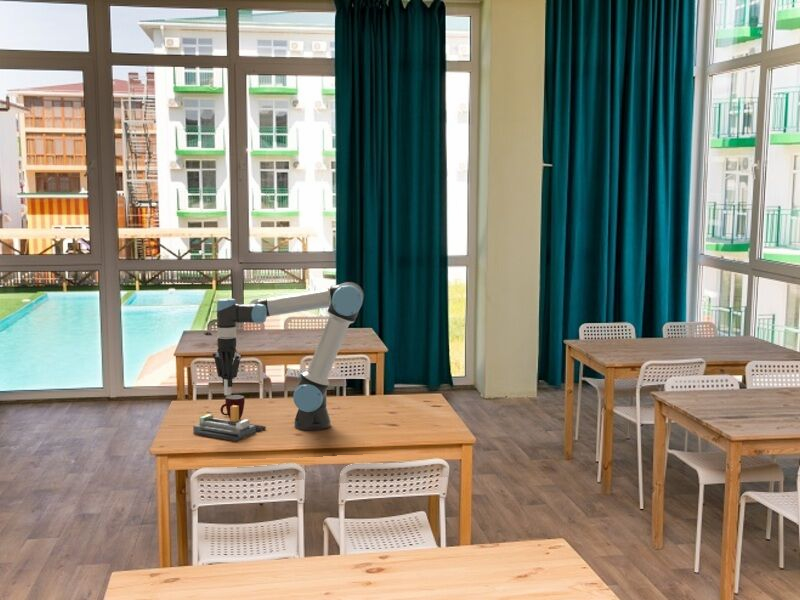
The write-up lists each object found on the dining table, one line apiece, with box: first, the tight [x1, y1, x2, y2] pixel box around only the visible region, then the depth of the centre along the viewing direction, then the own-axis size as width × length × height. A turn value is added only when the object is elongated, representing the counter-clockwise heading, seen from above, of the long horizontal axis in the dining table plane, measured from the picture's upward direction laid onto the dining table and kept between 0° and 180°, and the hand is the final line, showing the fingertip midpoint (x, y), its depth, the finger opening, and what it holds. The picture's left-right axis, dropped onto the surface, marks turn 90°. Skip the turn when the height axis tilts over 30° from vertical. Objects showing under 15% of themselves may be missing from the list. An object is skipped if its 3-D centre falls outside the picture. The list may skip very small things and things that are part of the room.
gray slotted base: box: [192, 413, 257, 441], centre depth 357 cm, size 22×12×6 cm, turn 65°
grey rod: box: [256, 426, 263, 432], centre depth 365 cm, size 24×2×2 cm, turn 65°
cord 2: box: [250, 423, 267, 431], centre depth 367 cm, size 25×2×2 cm, turn 68°
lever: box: [228, 405, 242, 425], centre depth 354 cm, size 4×3×8 cm
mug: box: [219, 394, 245, 420], centre depth 377 cm, size 10×8×10 cm
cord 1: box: [197, 431, 239, 442], centre depth 350 cm, size 20×2×2 cm, turn 63°
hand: (227, 394), depth 355 cm, fingers closed
